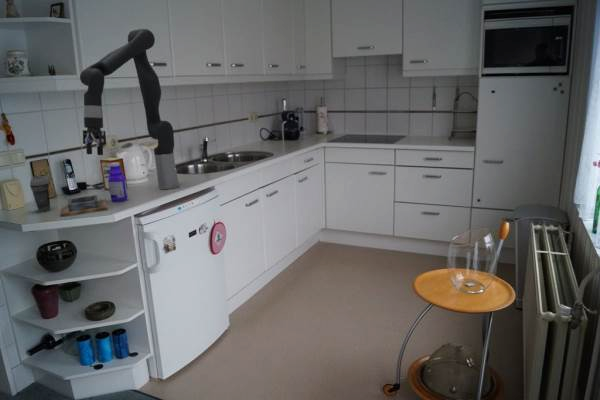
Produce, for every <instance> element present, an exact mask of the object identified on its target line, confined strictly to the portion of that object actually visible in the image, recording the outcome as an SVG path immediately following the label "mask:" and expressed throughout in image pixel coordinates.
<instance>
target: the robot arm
mask: <svg viewBox="0 0 600 400" xmlns="http://www.w3.org/2000/svg"><path fill="white" fill-rule="evenodd" d="M155 41H156V38H155V35H154V33H153V32H152V31H151V30H149V29H147V28H139V29H133V30H131V31H129V33H128V36H127V43H125V44H124V45H122V46H120V47H119V48H116V49H114V50H113V51H110V52H109V53H107V54H106V55H105V56H104V57H102V58H101V59H100V60H99V61H97V62H95V63H94V64H91V65H90V66H88V67H86V68H85V69H83V70H82V71H81V72H80V76H79V79H80V82H81V83H82V85H84V86H87V90H86V91H85V92H84V94H83V127H84V128H86V130H85V129H83V130H82V144H83V145H85V147H86V155H92V154H93V146H92V145H93V143H96V151H97V156H103V155H104V146H105V145H107V135H106V130H101V129H103V128H104V114H103V101H102V99H103V98H102V95H103V92H104V87H105V77H106V76H111V74H113V73H115V72H116V71H117V70H119V69H120V68H121V67H122V66H124V65H125V64H126V63H128V62H129V61H130V60H132V59H133V63H134V66H135V71H136V75H137V79H138V80H137V81H138V85H139V88H140V93H141V97H142V102H143V106H144V110H145V118H146V119H145V120H146V127H147V133H148V134H149V136H150V138H151V139H154V140H156V141H157V146H156V147H154V149H153V152H154V153H153V154H154V155H153V156H154V161H155V169H156V175H157V185H158V189H159V190H170V189H171V190H172V189H175V188H180V186H179V179H178V171H177V167H176V162H175V153H174V149H175V136H174V128H173V126H172V124H171V123H170V121H167V120H161V115H160V108H159V107H160V103H161V99H162V98H161V97H162V88H161V85H160V78H159V76H158V74H157V73H156V71H155V70H154V68H153V67H152V65H151V64H150V61H149V58H148V55H147V51H148V50H150V49H151V48H152V47H154V45H155Z"/></svg>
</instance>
